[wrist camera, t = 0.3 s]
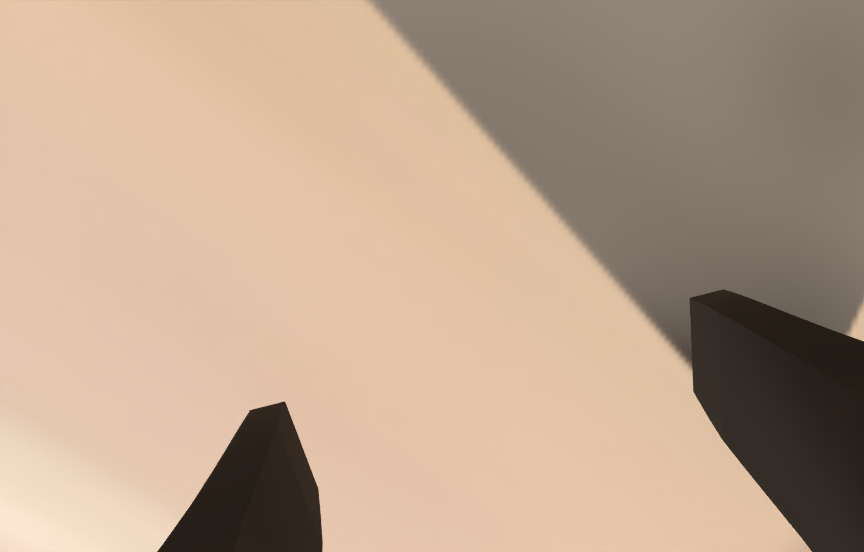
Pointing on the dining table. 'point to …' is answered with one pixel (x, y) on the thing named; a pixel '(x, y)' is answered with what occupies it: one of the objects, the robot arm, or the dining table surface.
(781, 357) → the robot arm
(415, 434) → the dining table surface
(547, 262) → the dining table surface
